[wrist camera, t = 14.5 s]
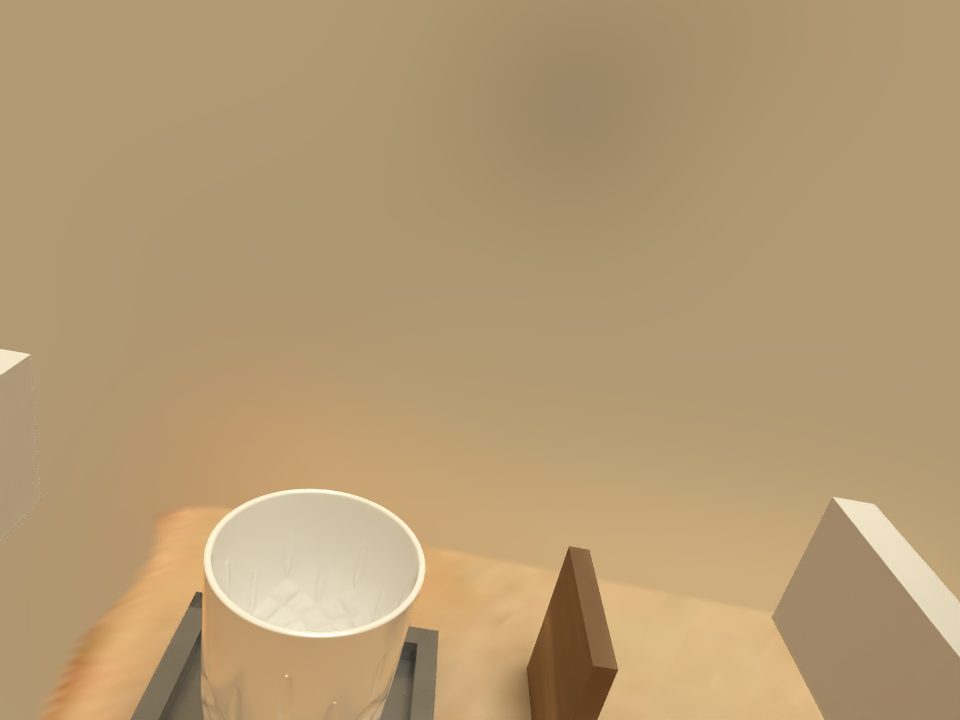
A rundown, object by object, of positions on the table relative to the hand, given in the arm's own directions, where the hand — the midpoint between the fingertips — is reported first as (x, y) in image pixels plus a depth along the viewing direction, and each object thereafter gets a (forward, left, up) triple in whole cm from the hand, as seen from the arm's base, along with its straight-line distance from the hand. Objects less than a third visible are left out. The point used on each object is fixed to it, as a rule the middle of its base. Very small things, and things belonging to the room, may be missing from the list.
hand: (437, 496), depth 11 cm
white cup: (+3, -11, -21) cm, 24 cm away
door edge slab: (-9, -13, -21) cm, 26 cm away
